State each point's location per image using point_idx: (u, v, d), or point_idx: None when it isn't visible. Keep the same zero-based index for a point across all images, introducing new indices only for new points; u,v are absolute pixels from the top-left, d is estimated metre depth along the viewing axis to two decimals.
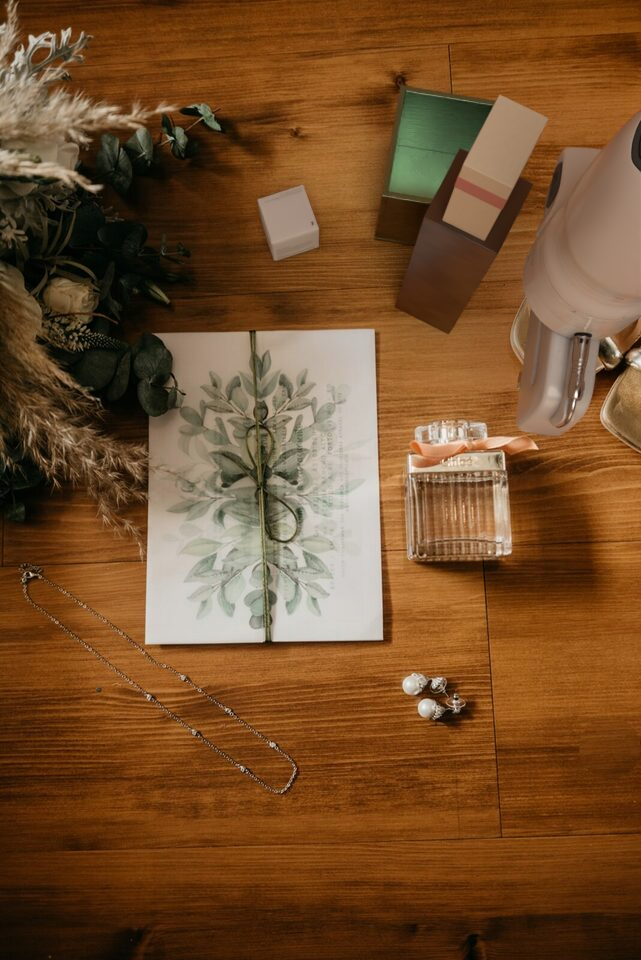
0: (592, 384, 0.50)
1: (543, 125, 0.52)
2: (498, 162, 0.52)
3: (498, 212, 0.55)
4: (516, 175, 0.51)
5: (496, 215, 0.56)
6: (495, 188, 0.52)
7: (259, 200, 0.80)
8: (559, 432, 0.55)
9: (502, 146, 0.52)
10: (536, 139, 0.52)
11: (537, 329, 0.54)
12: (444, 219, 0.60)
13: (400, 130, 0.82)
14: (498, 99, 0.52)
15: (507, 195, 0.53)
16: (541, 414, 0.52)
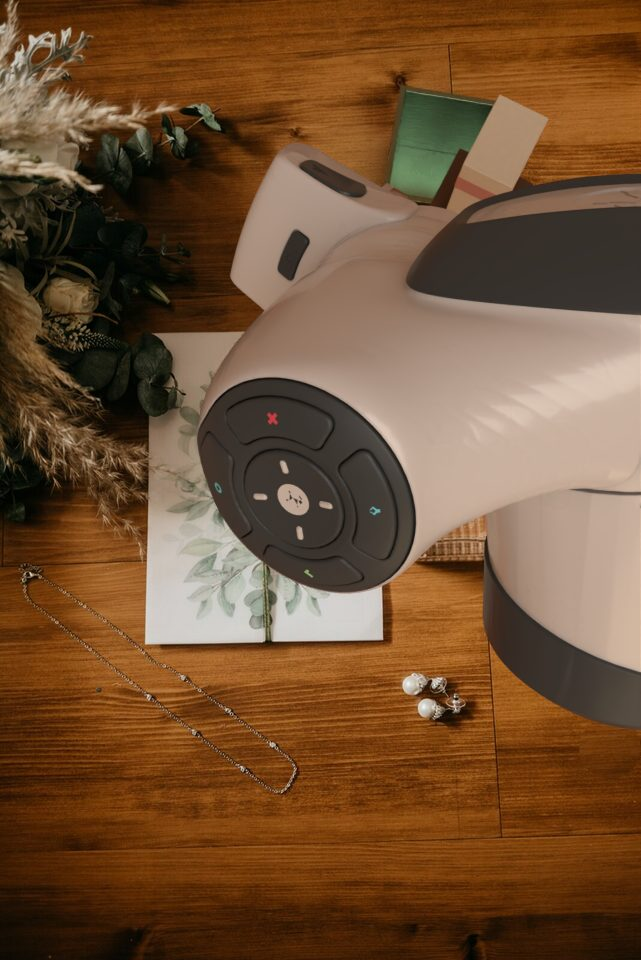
0: None
1: (543, 125, 0.52)
2: (498, 162, 0.52)
3: None
4: (516, 175, 0.51)
5: None
6: (495, 188, 0.52)
7: None
8: None
9: (502, 146, 0.52)
10: (536, 139, 0.52)
11: None
12: None
13: (400, 130, 0.82)
14: (498, 99, 0.52)
15: None
16: None
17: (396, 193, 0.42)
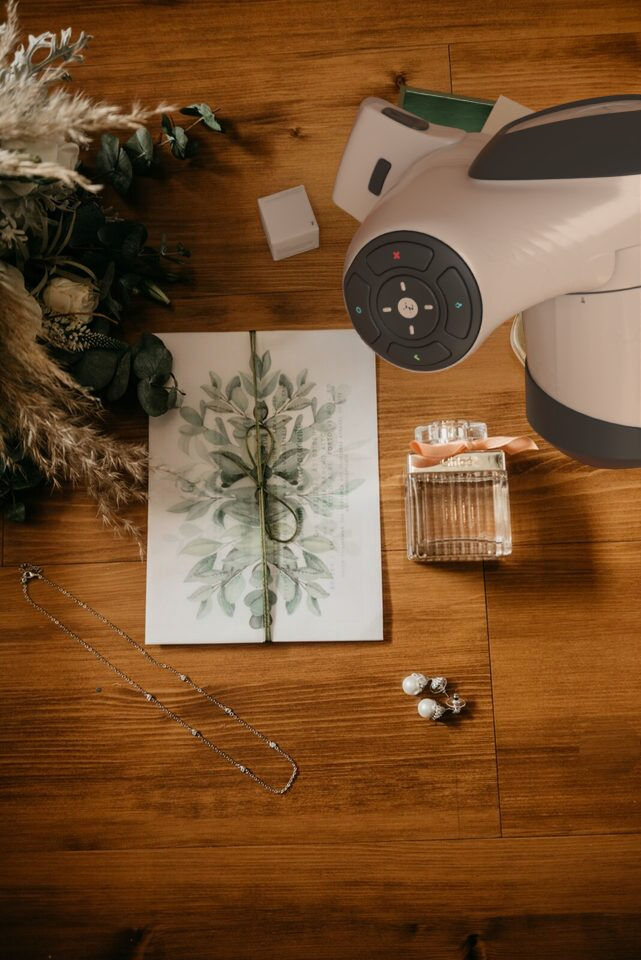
0: None
1: None
2: None
3: None
4: None
5: None
6: None
7: (259, 200, 0.80)
8: None
9: None
10: None
11: None
12: None
13: None
14: (499, 99, 0.52)
15: None
16: None
17: None
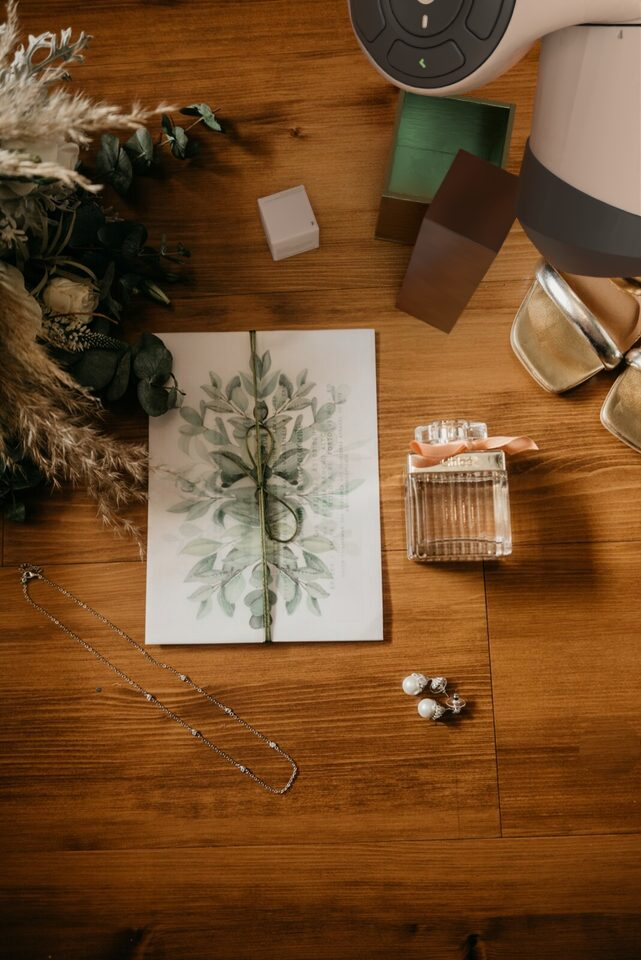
0: None
1: None
2: None
3: None
4: None
5: None
6: None
7: (259, 200, 0.80)
8: None
9: None
10: None
11: None
12: None
13: (400, 130, 0.82)
14: None
15: None
16: None
17: None
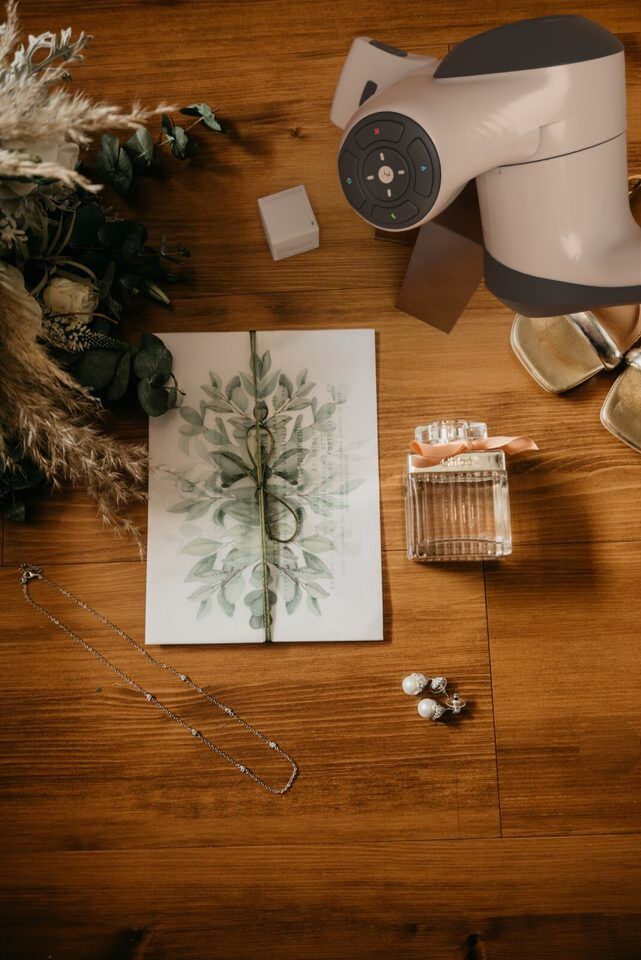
0: None
1: None
2: None
3: None
4: None
5: None
6: None
7: (259, 200, 0.80)
8: None
9: None
10: None
11: None
12: None
13: None
14: None
15: None
16: None
17: None
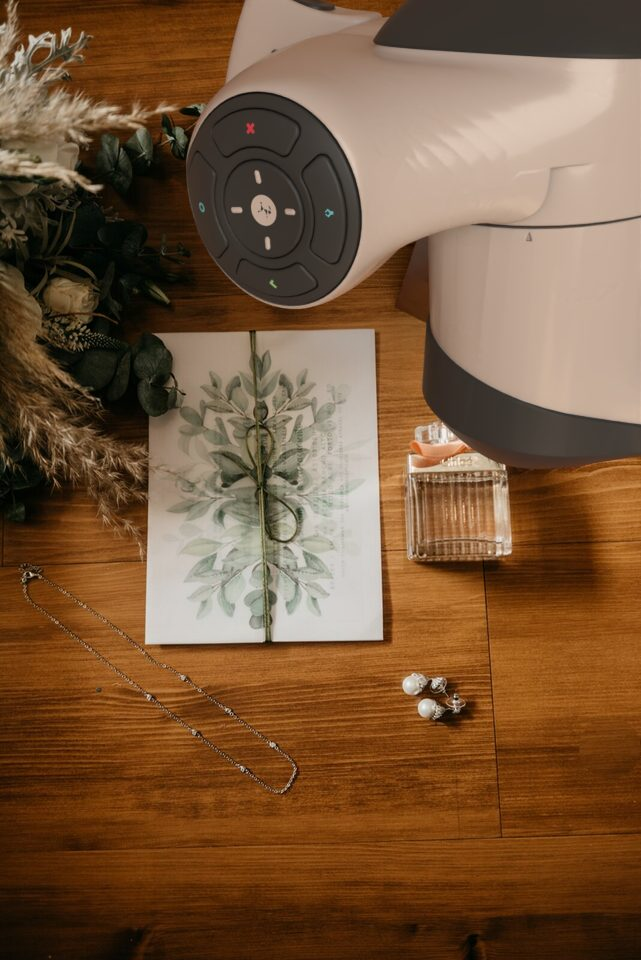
0: None
1: None
2: None
3: None
4: None
5: None
6: None
7: None
8: None
9: None
10: None
11: None
12: None
13: None
14: None
15: None
16: None
17: None
